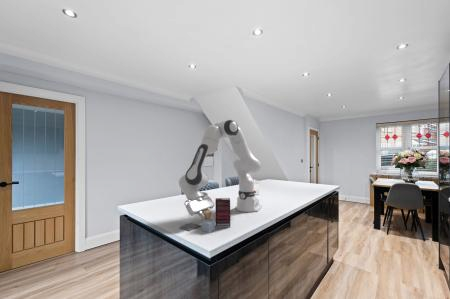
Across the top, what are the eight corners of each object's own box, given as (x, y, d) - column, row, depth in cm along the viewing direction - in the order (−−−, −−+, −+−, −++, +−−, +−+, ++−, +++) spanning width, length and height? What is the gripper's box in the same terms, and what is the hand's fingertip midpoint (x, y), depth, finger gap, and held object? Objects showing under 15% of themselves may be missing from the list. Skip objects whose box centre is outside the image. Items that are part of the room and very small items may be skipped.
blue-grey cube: (207, 228, 115) (207, 219, 115) (215, 230, 112) (215, 221, 112) (202, 231, 111) (202, 221, 111) (209, 233, 108) (209, 223, 108)
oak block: (206, 223, 122) (206, 210, 123) (211, 224, 120) (211, 211, 120) (202, 225, 119) (202, 211, 119) (207, 226, 117) (207, 212, 117)
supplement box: (230, 224, 121) (230, 197, 121) (230, 227, 116) (230, 199, 116) (215, 224, 120) (215, 197, 121) (215, 227, 116) (215, 199, 116)
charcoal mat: (190, 223, 122) (190, 222, 122) (200, 226, 118) (200, 225, 118) (179, 228, 115) (179, 227, 115) (189, 231, 110) (189, 230, 110)
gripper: (185, 198, 115) (198, 218, 110) (208, 192, 132) (221, 209, 126) (180, 204, 118) (192, 225, 112) (203, 198, 135) (215, 215, 129)
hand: (207, 217), depth 119 cm, fingers closed on oak block, 4 cm apart
